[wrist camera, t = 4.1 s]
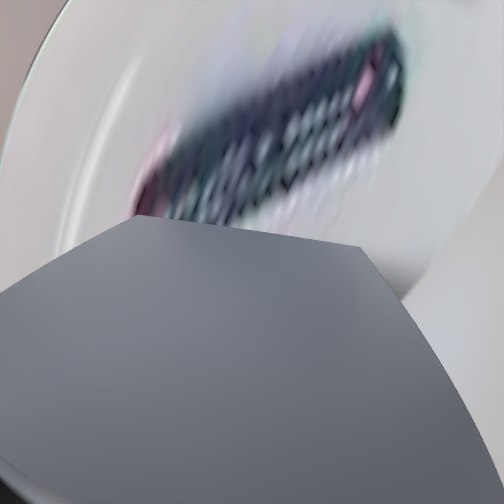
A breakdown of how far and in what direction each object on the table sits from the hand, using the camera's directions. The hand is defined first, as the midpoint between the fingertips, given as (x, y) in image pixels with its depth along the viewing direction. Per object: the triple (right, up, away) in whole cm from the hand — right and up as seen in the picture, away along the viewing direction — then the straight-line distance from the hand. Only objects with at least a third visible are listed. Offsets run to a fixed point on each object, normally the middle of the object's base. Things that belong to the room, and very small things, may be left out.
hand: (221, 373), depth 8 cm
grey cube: (0, +1, +2) cm, 3 cm away
